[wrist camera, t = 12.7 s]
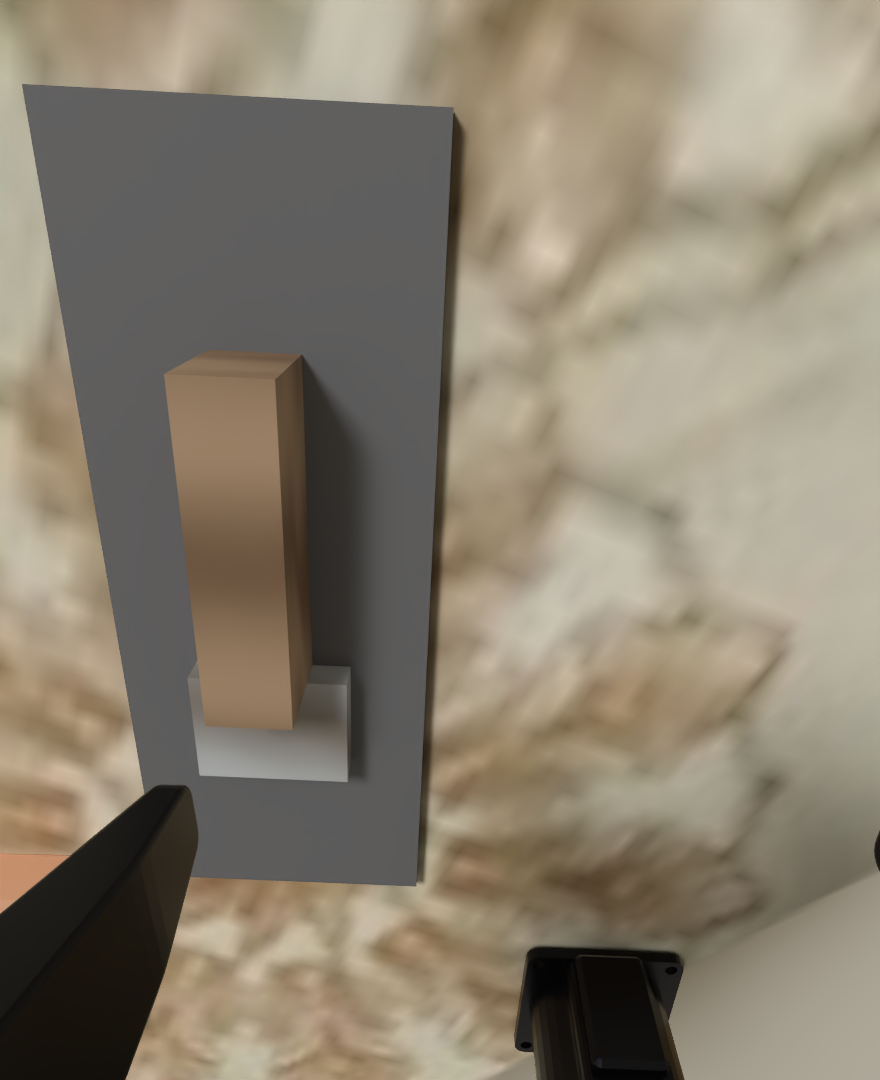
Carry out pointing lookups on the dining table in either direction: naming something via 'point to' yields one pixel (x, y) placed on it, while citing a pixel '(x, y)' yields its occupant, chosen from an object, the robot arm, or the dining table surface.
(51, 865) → the terracotta tile
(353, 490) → the mat
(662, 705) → the dining table surface
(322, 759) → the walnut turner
